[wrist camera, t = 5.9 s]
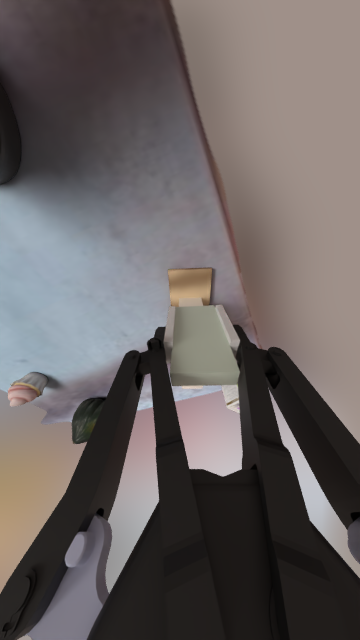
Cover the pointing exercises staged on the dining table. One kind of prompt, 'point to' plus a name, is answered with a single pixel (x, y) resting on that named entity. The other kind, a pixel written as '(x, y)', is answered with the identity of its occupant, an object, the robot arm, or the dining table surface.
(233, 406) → the syrup box
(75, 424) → the squash
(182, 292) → the board
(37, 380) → the cupcake
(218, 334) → the domino
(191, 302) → the domino
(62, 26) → the dining table surface
